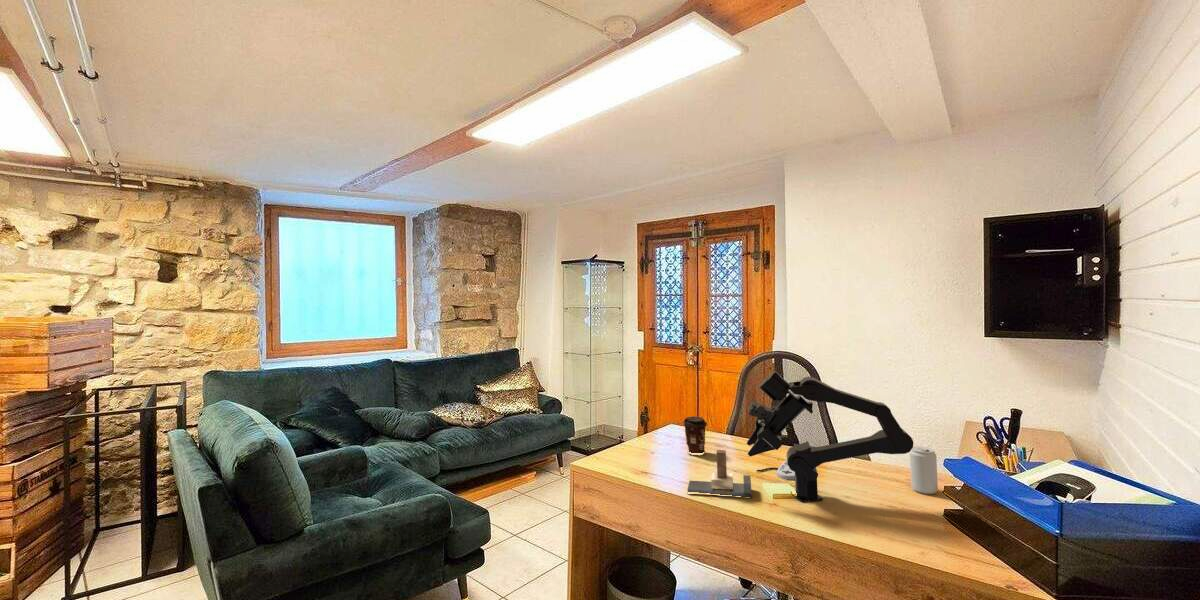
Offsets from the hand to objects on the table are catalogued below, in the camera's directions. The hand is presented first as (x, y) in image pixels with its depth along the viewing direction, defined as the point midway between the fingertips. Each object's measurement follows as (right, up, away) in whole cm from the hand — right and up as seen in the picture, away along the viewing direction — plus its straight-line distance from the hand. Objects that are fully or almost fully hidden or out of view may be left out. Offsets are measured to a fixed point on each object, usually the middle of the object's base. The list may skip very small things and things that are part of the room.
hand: (748, 449), depth 145 cm
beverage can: (+49, -11, -4) cm, 51 cm away
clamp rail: (-8, -13, +2) cm, 15 cm away
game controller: (+16, -13, +17) cm, 27 cm away
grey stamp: (-7, -11, +2) cm, 13 cm away
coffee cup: (-8, -13, +38) cm, 41 cm away
